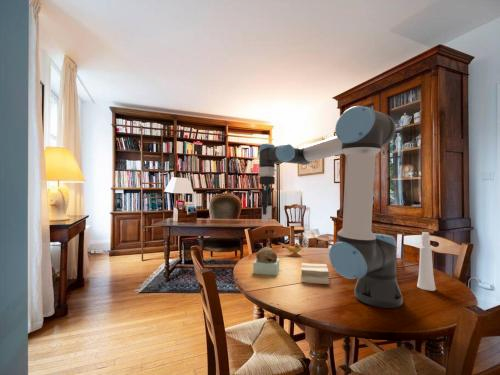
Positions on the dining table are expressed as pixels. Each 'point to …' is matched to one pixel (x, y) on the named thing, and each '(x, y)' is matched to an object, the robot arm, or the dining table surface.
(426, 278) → the cosmetic bottle
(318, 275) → the beech block
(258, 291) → the dining table surface
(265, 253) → the brown domed lump
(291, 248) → the magic lamp
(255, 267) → the green block
